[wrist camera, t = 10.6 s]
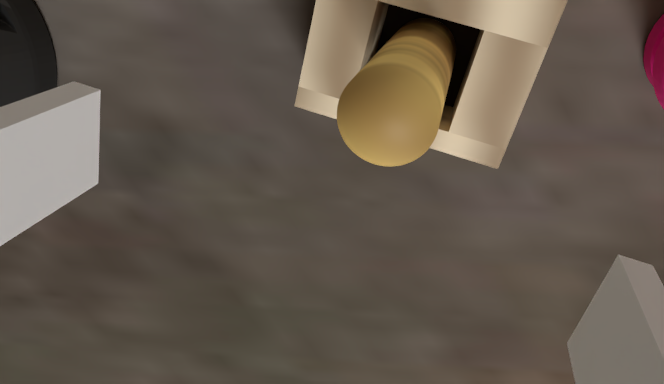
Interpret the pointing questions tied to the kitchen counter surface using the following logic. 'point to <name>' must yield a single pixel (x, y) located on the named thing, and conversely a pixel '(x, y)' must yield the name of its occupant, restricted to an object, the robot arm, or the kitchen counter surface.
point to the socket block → (480, 77)
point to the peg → (399, 95)
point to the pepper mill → (656, 59)
